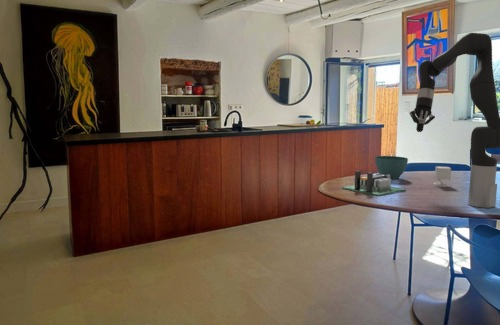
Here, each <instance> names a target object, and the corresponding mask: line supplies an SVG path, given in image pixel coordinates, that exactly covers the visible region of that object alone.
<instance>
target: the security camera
mask: <svg viewBox="0 0 500 325" xmlns="http://www.w3.org/2000/svg"><path fill="white" fill-rule="evenodd" d="M451 176H452V168H451V167H449V166H435V170H434V178H435V180H437V181H438V182H432V186H434V187H437V188H447V187H448V184H447V183H445V182H443V181H442V180H444V181H445V180H448V181H451V178H452V177H451Z"/></svg>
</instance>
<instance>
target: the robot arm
mask: <svg viewBox="0 0 500 325" xmlns="http://www.w3.org/2000/svg"><path fill="white" fill-rule="evenodd" d="M463 55H469V56H476V61H477V62H476V63H477V65H476V66H477V68H476V70H475V72H474V74H473V75H472V77H471V79H470V81H469V82H470V83H469V92H470V98H471V101H472V103H473V104H474V105H475V107H476V108H477V109H478V110H479V112H481V114H482V115H483V117H484V118H485V122H486V126H476V127H474V129H473V130H472V132H471V135H470V161H471V163H470V174H469V188H468V200H467V204H468V206H473V207H476V208H485V209H490V208H494V207H496V205H497V204H496V203H497V191H498V183H496V177H497V167H498V166H497V165H498V159H497V158H495V157H493V156H491V155H488V154H487V153H486V152H487V151H486V150H488V149H490V150H496V149H500V112H499V106H498V97H497V89H496V83H495V77H494V67H493V46H492V38H491V36H490V35H489V34H486V33H481V32H469V33H466V34H464V35H463V36H462V37H461V38H460V39H459V40H457V41H456V42H455V43H454V44H453V45H452V46H450V48H449V49H447V50H446V51H444V52H443V53H441V54H439V55H438V56H436V57H435V58H434V59H433V60H432V61H431V60H428V59H424V60H423V61H422V62H420V64H419V67H418V73H419V81H420V83H419V88H418V93H417V97H416V101H415V102H416V103H415V108H414V109H413V110H411V111H410V112H408V113H409V116H410V117H411V119H412V121H413V123H415V124H416V132H418V133H421V132H423V130H424V126H426V125H428V124H430V123H431V122H432V121H433V120H435V118H436V116H435V115H434V114H432V113H433V112H432V107H433V102H434V96H435V94H434V93H435V88H436V87H435V86H436V80H435V79H433V78H435V77H438V76H439V75H440V74H441V73H442V72H443V71H444V70H445V69H447V68H449V67H451V66H452V65H454V64H455V62H456V61H457V59H458V57H461V56H463ZM432 77H433V78H432ZM427 118H428V119H427Z"/></svg>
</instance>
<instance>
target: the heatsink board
mask: <svg viewBox="0 0 500 325" xmlns="http://www.w3.org/2000/svg"><path fill="white" fill-rule="evenodd" d="M361 174H362V173H361V170H355V171H354V184H353V185H346V186H342V187H341V189H343V190H347V191H350V192H351V191H352V192H356V193H360V194H361V193H362V194H364V195H365V194H366V195H369V196H374V197H382V196H386V195H390V194H396V193H397V194H398V193H402V192H406V191H407V189H406V188H400V187H395V186H391V185H392V184H391V183H392V179H390V175H386V178H380V179H374V180H373V175H374V172H367V173H366V176H365V177H367V180H361V179H360V177H361ZM379 174H380V173H379V172H377V173H375V175H379Z"/></svg>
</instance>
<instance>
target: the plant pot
mask: <svg viewBox="0 0 500 325" xmlns="http://www.w3.org/2000/svg"><path fill="white" fill-rule="evenodd" d="M374 157H375V158H374V161H375V166H376V169H377V173H380V175H390V179H391V180H398V179H399V178H400V177H401V176H402V175H403V173H404V172H405V170H406V169H407V166H408V162H409V159H408V157H403V156H396V155H395V156H394V155H377V156H374Z"/></svg>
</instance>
